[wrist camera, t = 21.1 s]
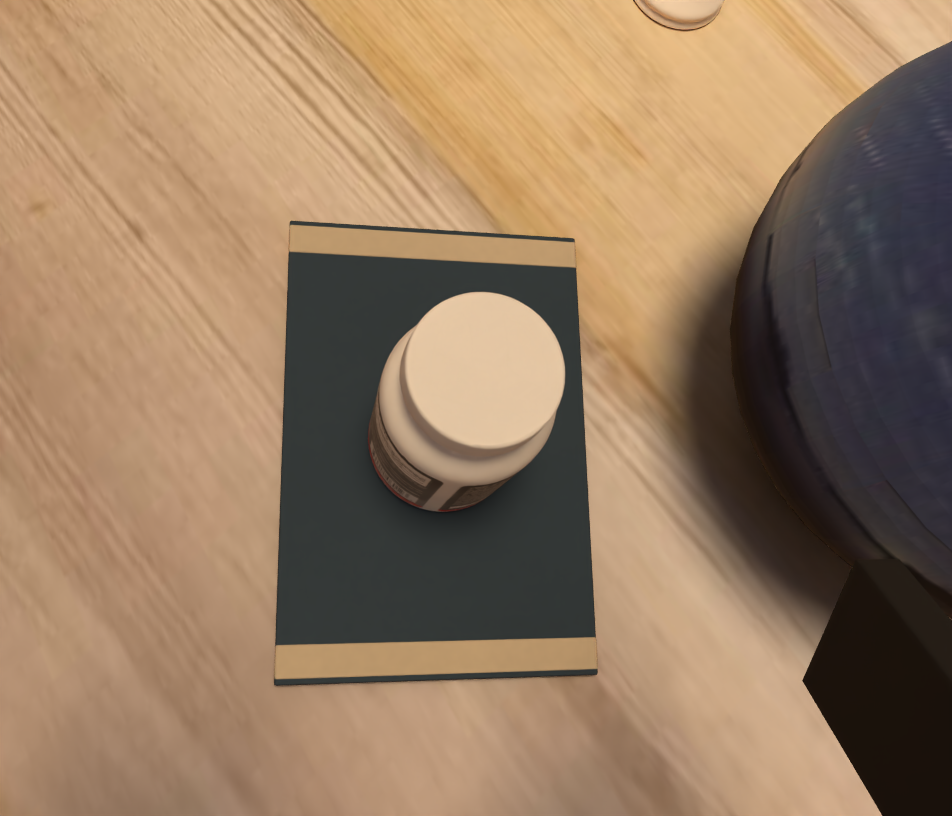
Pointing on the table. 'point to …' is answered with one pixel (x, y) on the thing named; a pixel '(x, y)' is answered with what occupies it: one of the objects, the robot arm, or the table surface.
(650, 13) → the chess piece
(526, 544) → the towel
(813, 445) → the decorative sphere
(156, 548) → the table surface
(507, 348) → the pill bottle
